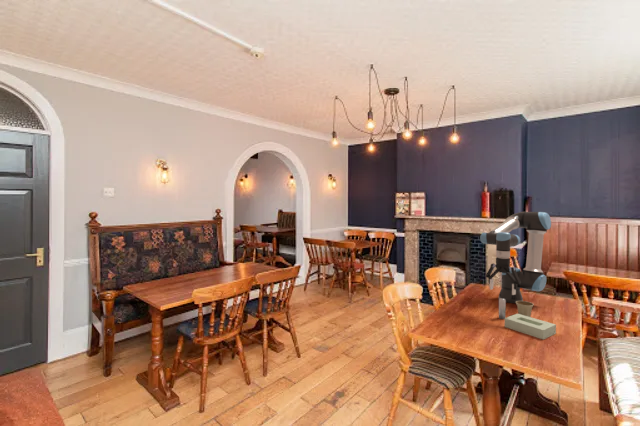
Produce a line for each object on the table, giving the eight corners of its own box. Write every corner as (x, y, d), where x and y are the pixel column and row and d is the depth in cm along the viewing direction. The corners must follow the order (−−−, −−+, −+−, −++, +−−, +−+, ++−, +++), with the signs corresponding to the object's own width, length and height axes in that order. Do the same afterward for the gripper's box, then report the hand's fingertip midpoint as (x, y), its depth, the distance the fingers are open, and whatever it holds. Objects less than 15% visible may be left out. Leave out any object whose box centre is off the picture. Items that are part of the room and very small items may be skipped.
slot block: (517, 321, 191) (517, 313, 190) (555, 333, 174) (556, 324, 173) (504, 326, 183) (504, 318, 183) (543, 339, 166) (543, 330, 166)
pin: (500, 316, 199) (501, 297, 198) (506, 318, 196) (506, 299, 195) (497, 317, 197) (497, 298, 197) (503, 319, 194) (503, 300, 193)
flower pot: (513, 316, 198) (514, 303, 198) (517, 312, 205) (517, 299, 205) (531, 320, 192) (531, 306, 192) (534, 316, 199) (534, 302, 198)
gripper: (479, 255, 204) (479, 287, 204) (521, 261, 182) (520, 298, 183) (486, 254, 207) (486, 286, 208) (528, 260, 186) (527, 295, 187)
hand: (502, 291), depth 196 cm, fingers open, 13 cm apart
